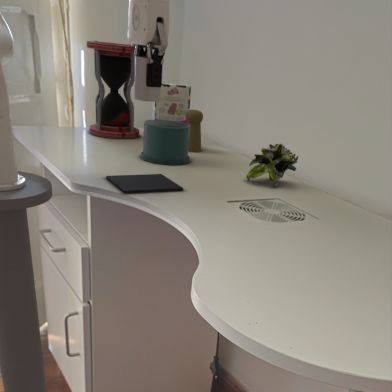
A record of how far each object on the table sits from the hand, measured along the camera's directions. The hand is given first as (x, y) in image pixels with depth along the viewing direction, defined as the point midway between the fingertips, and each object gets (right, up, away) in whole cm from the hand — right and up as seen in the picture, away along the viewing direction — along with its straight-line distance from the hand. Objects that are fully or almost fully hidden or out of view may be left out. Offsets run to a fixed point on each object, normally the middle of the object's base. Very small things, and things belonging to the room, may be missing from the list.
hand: (147, 84), depth 96 cm
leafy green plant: (+29, -13, +23) cm, 39 cm away
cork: (+9, +7, +48) cm, 50 cm away
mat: (-2, -17, +11) cm, 20 cm away
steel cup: (0, -2, +2) cm, 3 cm away
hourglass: (-17, +16, +58) cm, 62 cm away
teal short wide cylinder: (+1, -1, +34) cm, 35 cm away
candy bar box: (+1, +13, +56) cm, 58 cm away
